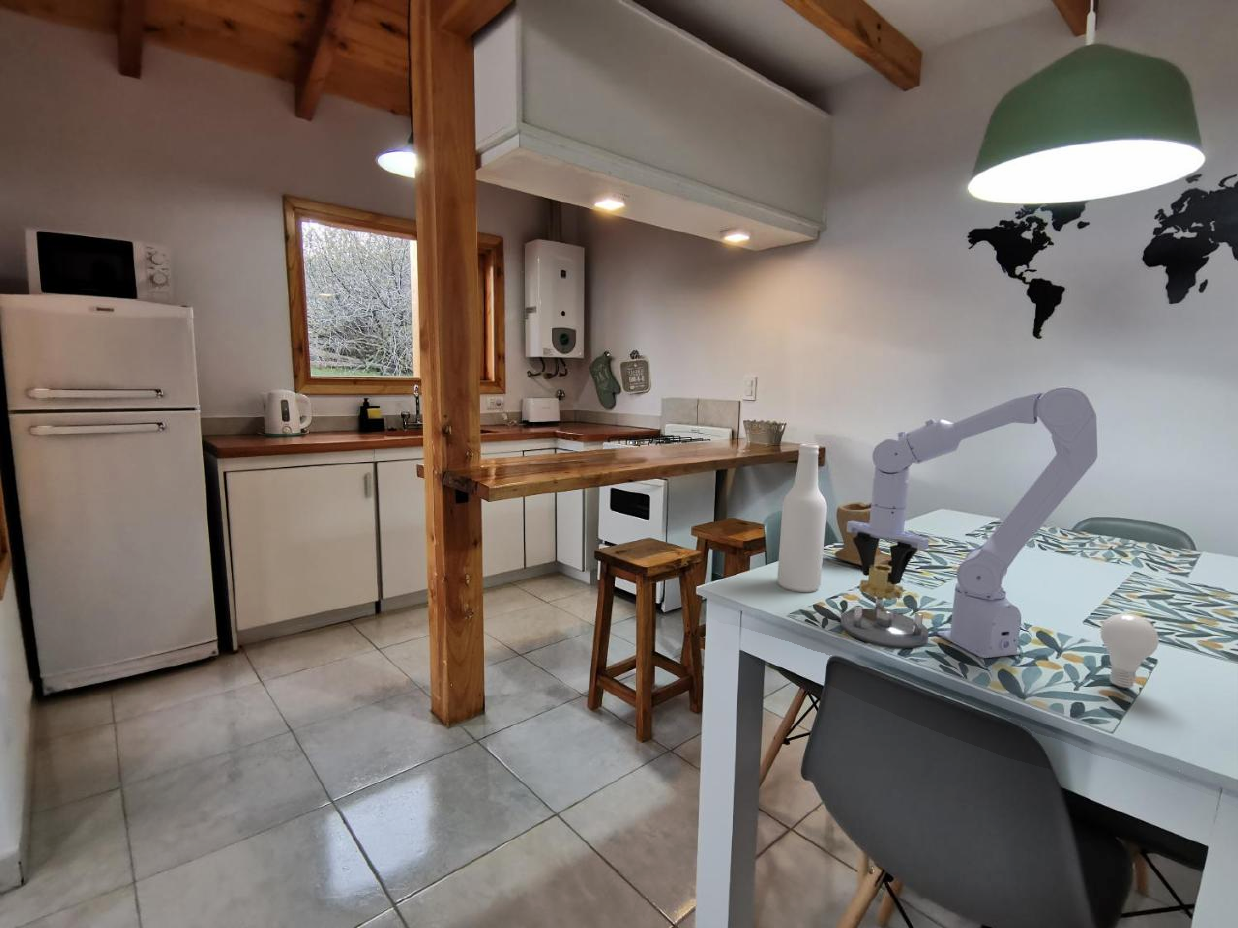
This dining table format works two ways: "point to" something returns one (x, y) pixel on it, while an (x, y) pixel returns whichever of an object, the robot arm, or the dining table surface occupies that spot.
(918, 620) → the carrier
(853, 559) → the stone cup
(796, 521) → the alcohol
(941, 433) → the robot arm
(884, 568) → the planet gear
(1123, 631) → the lightbulb
